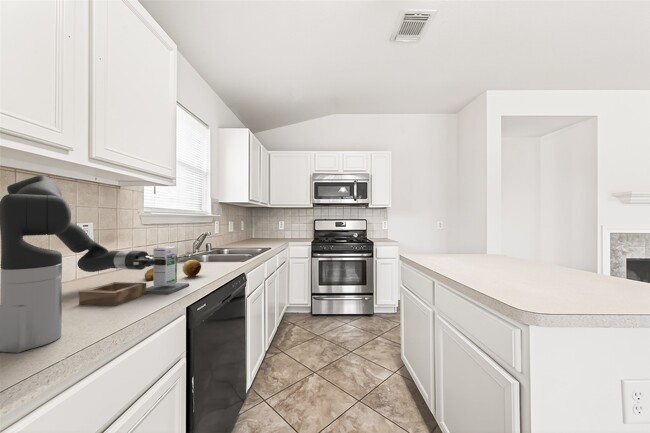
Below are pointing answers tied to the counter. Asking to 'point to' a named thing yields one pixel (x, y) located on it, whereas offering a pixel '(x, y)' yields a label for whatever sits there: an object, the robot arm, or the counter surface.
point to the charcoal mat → (166, 288)
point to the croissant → (149, 275)
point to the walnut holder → (112, 293)
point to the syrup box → (165, 266)
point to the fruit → (192, 268)
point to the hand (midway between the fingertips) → (171, 261)
